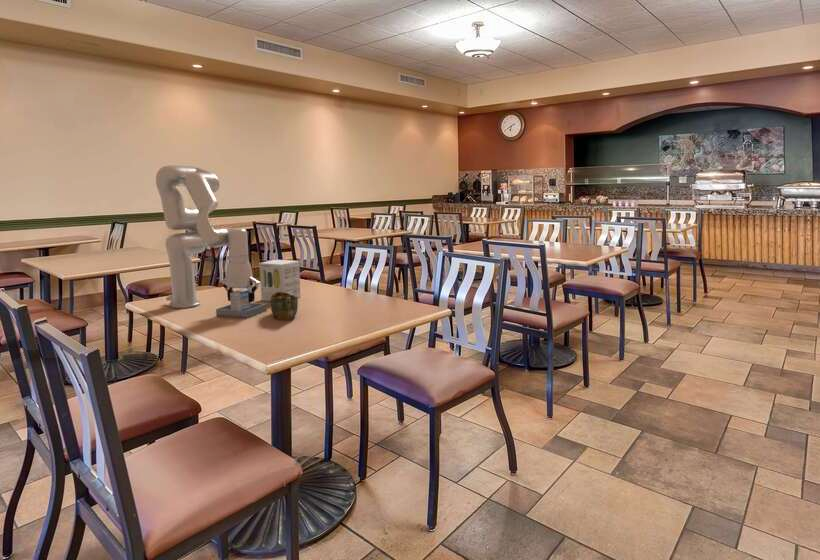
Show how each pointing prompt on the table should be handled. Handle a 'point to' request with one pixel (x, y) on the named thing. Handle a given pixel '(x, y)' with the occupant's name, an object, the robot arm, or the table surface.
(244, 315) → the tray
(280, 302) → the cup
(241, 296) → the medicine box
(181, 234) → the robot arm
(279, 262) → the supplement box
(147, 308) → the table surface
